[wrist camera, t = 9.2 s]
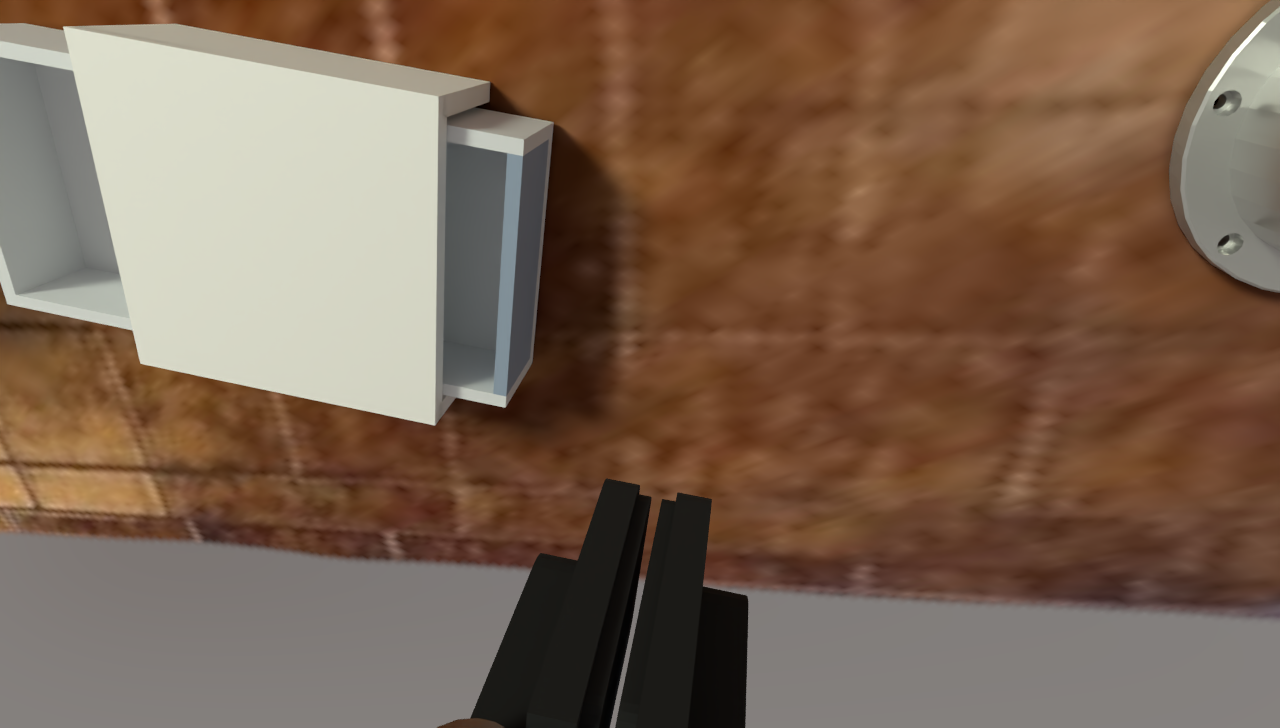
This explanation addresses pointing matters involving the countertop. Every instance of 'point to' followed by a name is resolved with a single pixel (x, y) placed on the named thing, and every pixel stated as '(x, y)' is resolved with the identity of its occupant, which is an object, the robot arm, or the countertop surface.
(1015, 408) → the countertop surface
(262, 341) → the sleeve
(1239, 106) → the robot arm
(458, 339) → the white sliding drawer box
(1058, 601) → the countertop surface
